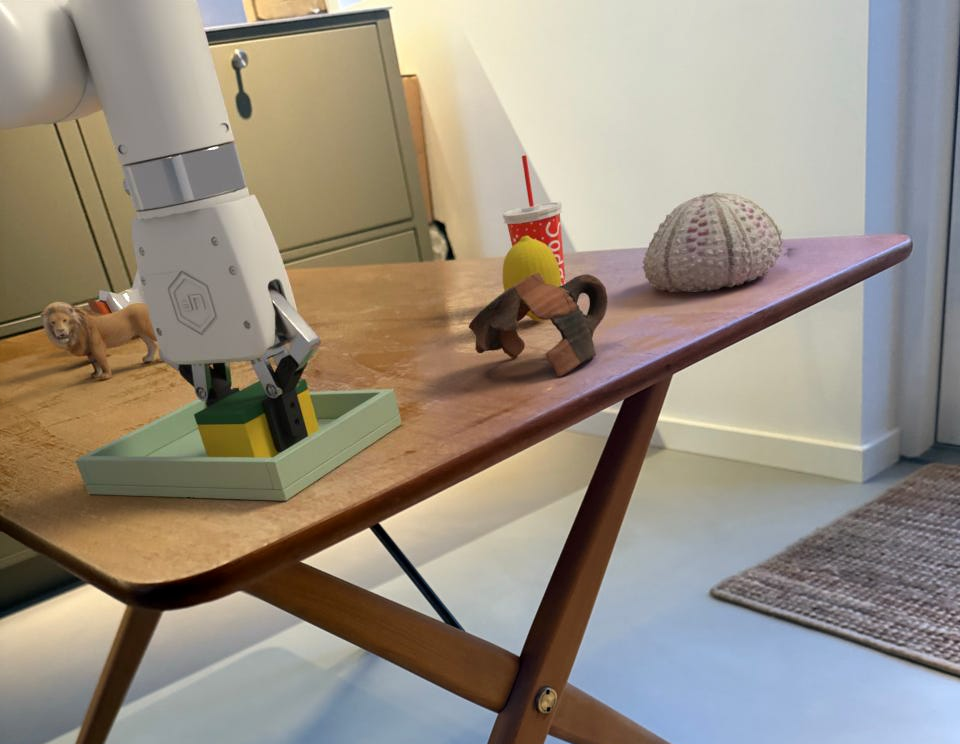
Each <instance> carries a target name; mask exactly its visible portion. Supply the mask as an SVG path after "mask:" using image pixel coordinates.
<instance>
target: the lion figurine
mask: <svg viewBox="0 0 960 744" xmlns="http://www.w3.org/2000/svg"><path fill="white" fill-rule="evenodd" d="M40 318H41V320H42V327H43V329H44V331H45V334H46V337H47V339H48V340H49V341H50V342H51V344H53V346H54V347H56V348H57V349H60V350H66V351H67V352H68V353H70V354H72V356H73V355H74V356H75V357H78V358H79V357H87V360H88V361H89V362H91V363H90V364H91V365H92V368H93V371H94V372H92V373H91V374H90V378H92V379H97V378H99V380H100V381H106V380H109V379H111V377H112V368H111V366H110V365H109V362H108V357H107V350H108V349H112V348H118V347H121V346H124V345H125V344H127V343H128V342H130V341H131V340H132V338H133V337H134V336H135V335H136V334H137V336H138V337H139V338H140V339H141V341H143V342H144V343H145V345H146V347H147V354H146V355H145V356H143V357H142V358H141V359H142V363H148V362H152V361H153V360H154V359H155V355H156V351H157V348H158V346H157V345H158V344H157V343H158V342H157V339H156V336H155V333H154V329H153V326H152V323H151V319H150V316H149V312H148V309H147V305H146V304H144V303H133V304H130V305H128V306H127V307H125V308H123V309H121V310H119V311H117V312H114V313H111V314H107V315H103V314H101V313H96V312H94V311H92V310H91V309H90V308H88V307H85V306H84V307H83V306H77V305H75V306H74V305H73V304H70V303H68V302H63V301H55V302H52V303H49V304H48V305H46V306H45V308H44V309H43V311H42V312H40Z"/></svg>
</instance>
